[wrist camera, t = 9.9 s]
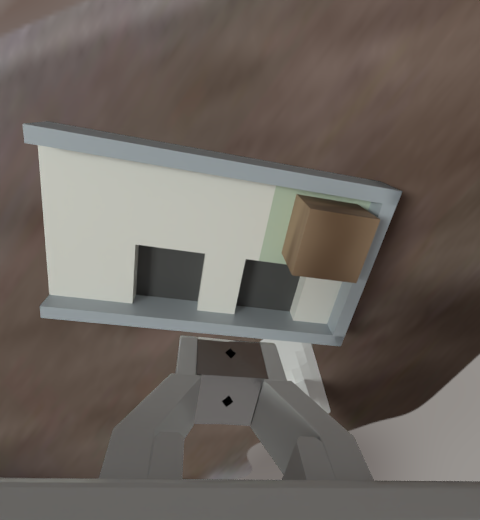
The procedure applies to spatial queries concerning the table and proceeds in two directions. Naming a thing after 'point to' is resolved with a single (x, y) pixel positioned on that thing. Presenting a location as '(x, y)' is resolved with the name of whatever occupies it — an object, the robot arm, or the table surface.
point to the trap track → (188, 237)
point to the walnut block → (328, 239)
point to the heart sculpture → (302, 369)
